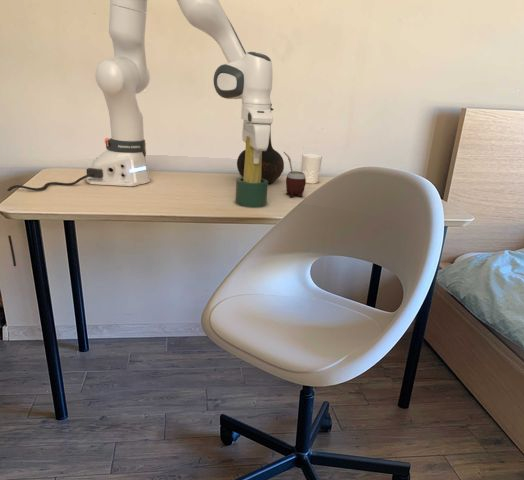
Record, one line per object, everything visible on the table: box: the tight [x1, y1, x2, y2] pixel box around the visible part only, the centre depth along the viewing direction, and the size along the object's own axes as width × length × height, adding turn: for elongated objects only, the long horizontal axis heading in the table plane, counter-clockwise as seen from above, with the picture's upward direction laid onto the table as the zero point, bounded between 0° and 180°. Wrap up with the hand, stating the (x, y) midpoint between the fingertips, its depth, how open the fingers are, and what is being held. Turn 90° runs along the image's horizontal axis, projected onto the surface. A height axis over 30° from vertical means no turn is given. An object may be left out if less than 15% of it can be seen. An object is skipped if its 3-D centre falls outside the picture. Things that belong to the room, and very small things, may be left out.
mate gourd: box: [283, 151, 307, 199], centre depth 178 cm, size 8×8×15 cm
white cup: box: [300, 153, 323, 185], centre depth 202 cm, size 8×8×10 cm
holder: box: [235, 176, 269, 208], centre depth 168 cm, size 10×10×8 cm
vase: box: [243, 136, 262, 183], centre depth 163 cm, size 6×6×14 cm
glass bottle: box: [236, 103, 285, 185], centre depth 192 cm, size 18×18×28 cm
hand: (253, 161), depth 163 cm, fingers closed on vase, 5 cm apart
